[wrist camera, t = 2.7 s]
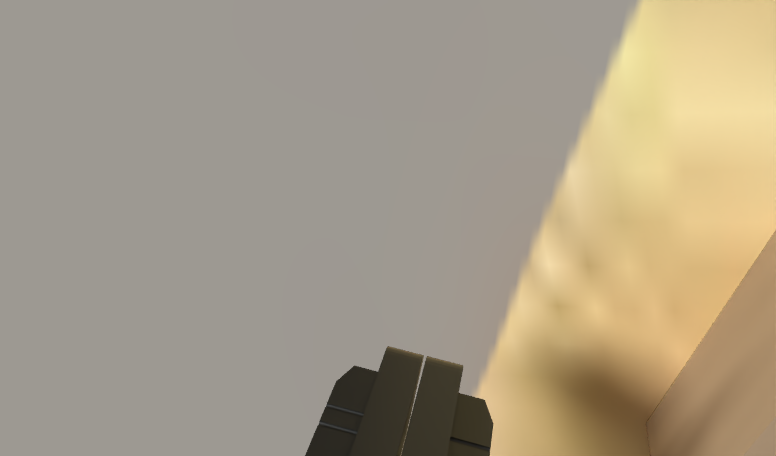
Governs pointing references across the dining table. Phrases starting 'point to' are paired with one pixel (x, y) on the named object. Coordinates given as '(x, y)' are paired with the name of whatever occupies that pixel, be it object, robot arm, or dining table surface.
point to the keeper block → (727, 378)
